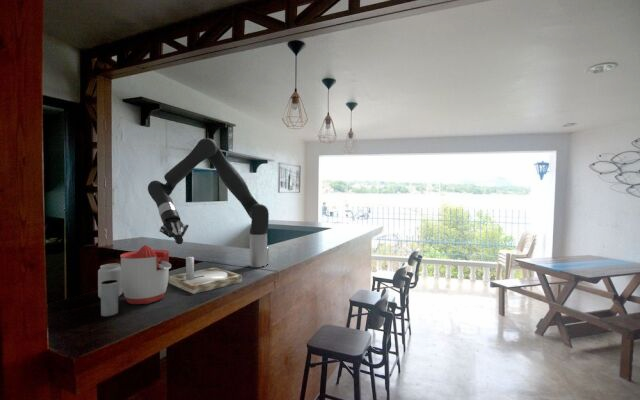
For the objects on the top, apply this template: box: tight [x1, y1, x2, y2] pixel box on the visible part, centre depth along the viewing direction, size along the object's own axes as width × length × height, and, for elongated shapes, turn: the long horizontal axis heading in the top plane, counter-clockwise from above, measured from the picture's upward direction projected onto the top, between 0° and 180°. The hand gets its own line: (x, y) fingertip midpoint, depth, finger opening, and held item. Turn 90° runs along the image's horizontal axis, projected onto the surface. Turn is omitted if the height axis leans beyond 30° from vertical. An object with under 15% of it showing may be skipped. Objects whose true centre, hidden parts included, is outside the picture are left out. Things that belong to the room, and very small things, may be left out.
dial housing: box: [168, 266, 243, 295], centre depth 133 cm, size 22×22×3 cm
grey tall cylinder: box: [100, 280, 119, 317], centre depth 98 cm, size 4×4×10 cm
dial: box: [183, 256, 227, 284], centre depth 133 cm, size 18×18×10 cm
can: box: [97, 262, 124, 299], centre depth 114 cm, size 8×8×12 cm
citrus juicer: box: [119, 244, 172, 305], centre depth 111 cm, size 16×17×20 cm
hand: (180, 243), depth 136 cm, fingers closed
